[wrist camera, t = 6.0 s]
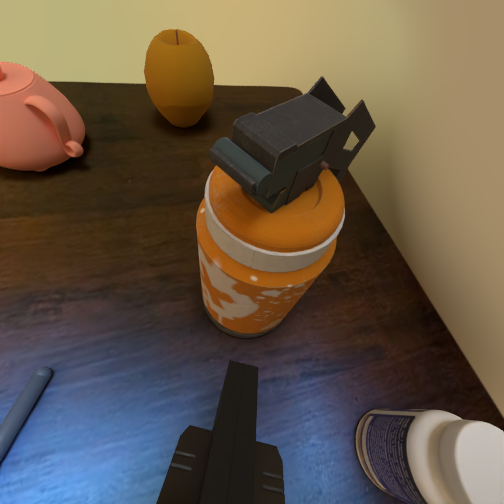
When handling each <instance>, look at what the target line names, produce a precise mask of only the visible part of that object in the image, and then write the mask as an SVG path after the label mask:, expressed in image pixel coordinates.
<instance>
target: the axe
mask: <svg viewBox="0 0 504 504" xmlns="http://www.w3.org/2000/svg"><path fill="white" fill-rule="evenodd" d="M50 376H51V370H50V369H49V368H48V367H41V368H39V369H37V370H36V371H35V372H34V373H33V375H32V376H31V378H30V379H29V381H28V382H27V384H26V386H25V387H24V389H23V390H22V392H21V394H20V395H19V397H18V398H17V400H16V402H15V403H14V405H13V406H12V408H11V410H10V411H9V413H8V414H7V416H6V417H5V419H4V421H3V422H2V424H1V425H0V461H1V460H2V458H3V456H4V454H5V453H6V451H7V449H8V448H9V446H10V444H11V443H12V441H13V439H14V438H15V436H16V434H17V432H18V431H19V429H20V427H21V426H22V424H23V422H24V421H25V419H26V417H27V416H28V414H29V412H30V410H31V409H32V407H33V405H34V404H35V402H36V400H37V399H38V397H39V395H40V394H41V392H42V390H43V388H44V387H45V385H46V383H47V382H48V380H49V378H50Z"/></svg>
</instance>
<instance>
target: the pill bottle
mask: <svg viewBox="0 0 504 504" xmlns="http://www.w3.org/2000/svg"><path fill="white" fill-rule="evenodd" d="M356 449H357V453H358V457H359V460H360V463H361V465H362V467H363V469H364V471H365V473H366V474H367V476H368V477H369V478H370V479H371V481H372V482H373V483H374V484H375V485H376V486H377V487H379V488H380V489H381V490H383V491H384V492H386V493H388V494H390V495H392V496H394V497H396V498H398V499H400V500H402V501H404V502H406V503H408V504H504V432H503V431H502V430H500V429H499V428H497V427H495V426H493V425H491V424H489V423H485V422H481V421H472V420H463V419H461V418H460V417H458V416H456V415H454V414H451V413H449V412H445V411H441V410H420V409H375V410H372V411H370V412H368V413H367V414H365V415H364V416H363V418H362V419H361V421H360V422H359V425H358V428H357V432H356Z"/></svg>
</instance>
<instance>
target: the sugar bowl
mask: <svg viewBox="0 0 504 504" xmlns="http://www.w3.org/2000/svg"><path fill="white" fill-rule="evenodd" d="M84 137H85V125H84V123H83V121H82V119H81V117H80V115H79V114H78V112H77V111H76V109H75V108H74V107H73V105H72V104H71V103H70V102H69V101H68V99H67V98H66V97H65V96H64V95H63V94H61V93H60V92H59V91H58V90H57V89H56V88H55V87H53V86H52V85H51V84H50V83H48V82H47V81H46V80H45V79H43V78H42V77H41V76H39V75H38V74H36V73H35V72H34V71H32V70H30V69H29V68H27V67H24V66H22V65H19V64H15V63H9V62H0V166H1V167H5V168H10V169H15V170H23V171H31V170H34V171H38V172H39V171H44V170H46V169H48V168H50V167H53V166H56V165H58V164H61V163H63V162H65V161H66V160H68V159H69V158H71V157H79V156H81V155H82V154H83V148H82V146H81V144H82V142H83V140H84Z"/></svg>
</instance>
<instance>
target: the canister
mask: <svg viewBox="0 0 504 504" xmlns="http://www.w3.org/2000/svg"><path fill="white" fill-rule="evenodd" d="M344 110H345V107H344V106H343V104H342V103H341V102H340V100H339V99H338V97H337V96H336V95H335V93H334V92H333V90H332V89H331V88H330V86H329V85H328V84H327V82H326V81H325V79H324V78H323V77H321V78H320V79H319V80H318V81H317V82H316V83H315V85H314V86H313V87H312V88H311V89H310V91H309V92H308V93H306V94H304V95H301V96H299V97H297V98H294V99H292V100H289V101H287V102H285V103H282V104H280V105H278V106H275V107H273V108H271V109H268V110H266V111H264V112H261V113H259V114H254V113H253V112H251V113H249V114H247V115H244V116H242V117H239V118H237V119H236V120H235V122H234V124H233V130H232V141H231V140H230V139H228V138H227V137H222V138H220V139H219V140H218V141H217V142H216V143H215V145H214V147H213V148H211V149H210V154H209V155H210V159H211V161H212V162H213V163H214V164H215V165H216V167H215V168H214V170H213V171H212V172H211V174H210V176H209V178H208V180H207V183H206V187H205V197H204V199H203V200H202V202H201V204H200V206H199V209H198V213H197V221H196V228H197V239H198V251H199V262H200V274H201V285H202V297H203V304H204V308H205V311H206V313H207V315H208V317H209V318H210V319H211V321H212V322H213V323H214V324H215V325H216V326H217V327H218V328H219V329H221V330H222V331H224V332H225V333H228V334H230V335H232V336H236V337H240V338H254V337H259V336H262V335H265V334H267V333H269V332H270V331H272V330H273V329H275V328H276V327H277V326H278V325H279V324H280V322H281V321H282V320H283V319H284V317H285V316H286V315H287V314H288V313H289V311H290V310H291V309H292V308H293V306H294V305H295V304H296V303H297V302H298V300H299V299H300V298H301V297H302V295H303V294H304V293H305V292H306V291H307V289H308V288H309V287H310V286H311V284H312V283H313V282H314V281H315V280H316V278H317V277H318V276H319V275H320V273H321V272H322V271H323V270H324V269H325V267H326V266H327V265H328V264H329V262H330V260H331V258H332V256H333V254H334V251H335V247H336V236H337V235H338V233H339V231H340V230H341V228H342V225H343V222H344V216H345V208H344V204H345V202H344V195H343V192H342V189H341V186H340V184H339V183H340V182H341V179H342V178H343V176H344V174H345V172H346V170H347V169H348V167H349V165H350V163H351V162H352V160H353V159H354V158H355V156H356V155H357V153H358V152H359V150H360V149H361V147H362V146H363V144H364V143H365V142H366V140H367V139H368V137H369V136H370V134H371V133H372V132H373V130H374V129H375V127H376V126H375V124H374V122H373V120H372V118H371V116H370V114H369V112H368V110H367V108H366V106H365V103H364V101H363V100H361V101H360V102H359V103H358V104H357V105H356V106H355V107H354V109H353V110H352V111H351V112H350V113H349V114H348V115H347V117H346V116H344V115H342V113H343V111H344ZM351 131H353V132H354V134H355V135H356V136H357V138H358V139H359V142H358V143H357V145H356V146H355V147H354V149H353V150H352V151H351V150H346V149H343V147H344V145H345V143H346V141H347V139H348V137H349V135H350V133H351Z"/></svg>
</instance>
